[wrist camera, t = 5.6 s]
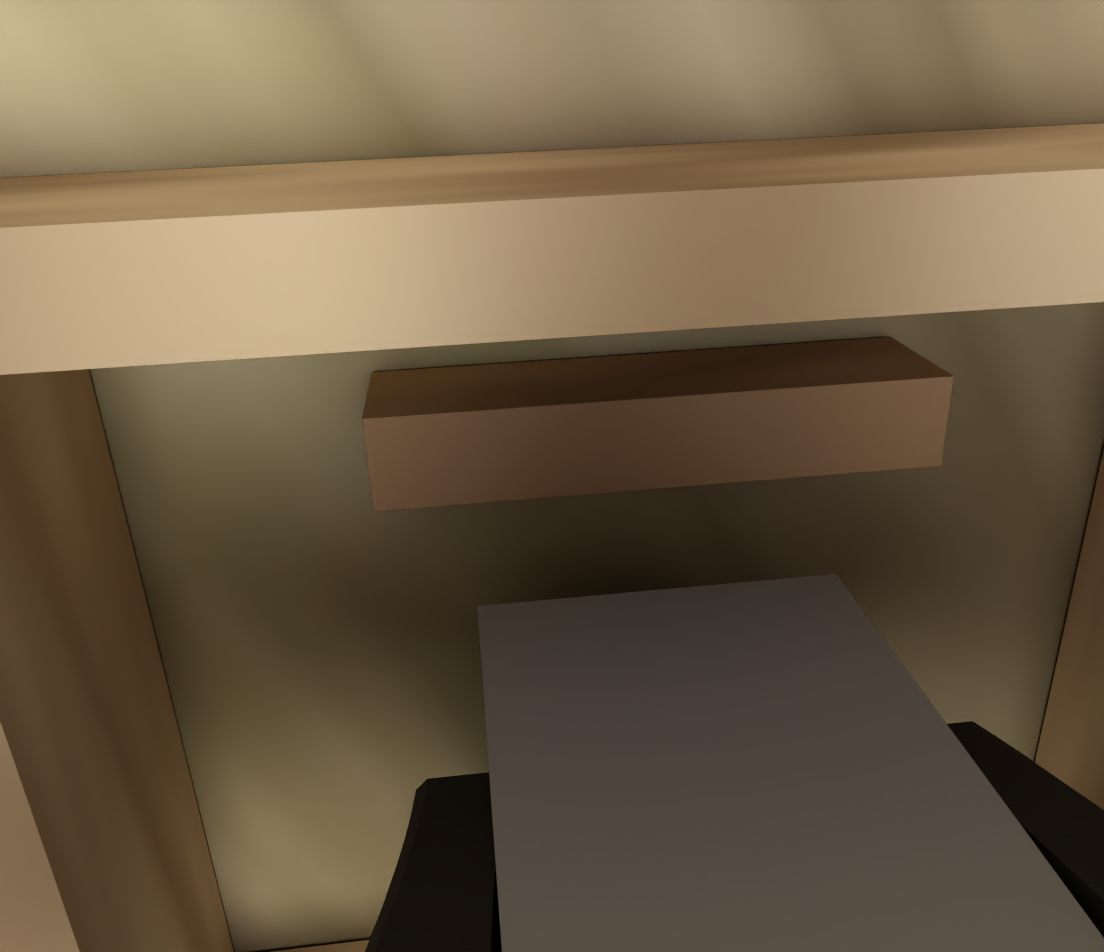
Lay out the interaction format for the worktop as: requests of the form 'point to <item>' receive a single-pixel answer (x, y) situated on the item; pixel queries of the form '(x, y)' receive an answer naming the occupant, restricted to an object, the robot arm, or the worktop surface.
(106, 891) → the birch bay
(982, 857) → the slate plug
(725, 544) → the worktop surface
